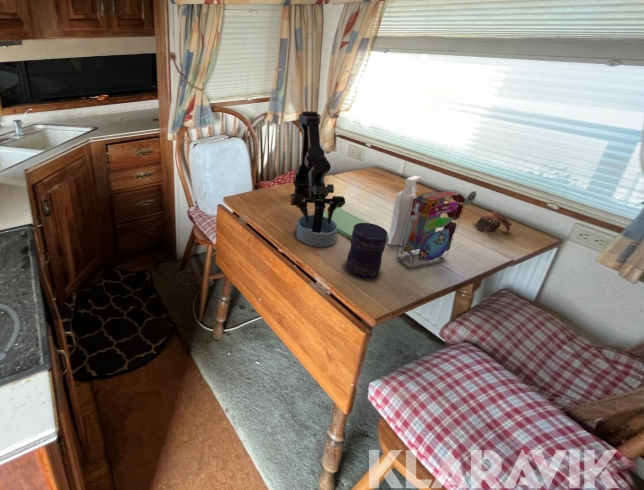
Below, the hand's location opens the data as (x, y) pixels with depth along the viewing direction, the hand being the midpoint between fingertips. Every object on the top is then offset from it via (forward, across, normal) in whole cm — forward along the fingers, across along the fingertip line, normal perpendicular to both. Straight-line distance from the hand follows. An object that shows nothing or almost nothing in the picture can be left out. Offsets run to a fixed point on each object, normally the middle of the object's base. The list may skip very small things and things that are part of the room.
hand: (318, 223), depth 131 cm
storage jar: (+17, +11, -8) cm, 22 cm away
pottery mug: (-4, +68, +14) cm, 69 cm away
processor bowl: (+4, 0, +6) cm, 7 cm away
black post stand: (+3, 0, +5) cm, 6 cm away
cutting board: (-4, +13, +13) cm, 19 cm away
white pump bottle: (+4, +29, +6) cm, 29 cm away
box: (+10, +36, -1) cm, 38 cm away
